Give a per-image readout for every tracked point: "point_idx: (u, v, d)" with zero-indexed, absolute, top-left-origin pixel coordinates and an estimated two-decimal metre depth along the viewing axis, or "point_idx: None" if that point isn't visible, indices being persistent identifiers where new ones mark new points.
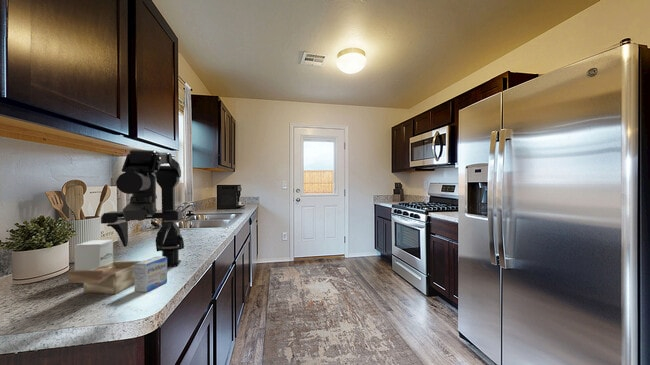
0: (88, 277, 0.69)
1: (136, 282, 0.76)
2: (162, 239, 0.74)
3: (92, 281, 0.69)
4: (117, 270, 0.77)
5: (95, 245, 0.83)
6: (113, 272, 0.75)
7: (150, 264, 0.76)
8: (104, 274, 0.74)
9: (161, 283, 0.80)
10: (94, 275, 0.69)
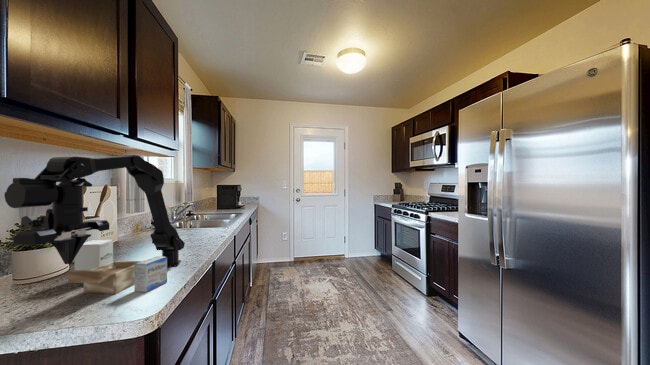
0: (88, 277, 0.69)
1: (136, 282, 0.76)
2: None
3: (92, 281, 0.69)
4: (117, 270, 0.77)
5: (95, 245, 0.83)
6: (113, 272, 0.75)
7: (150, 264, 0.76)
8: (104, 274, 0.74)
9: (161, 283, 0.80)
10: (94, 275, 0.69)
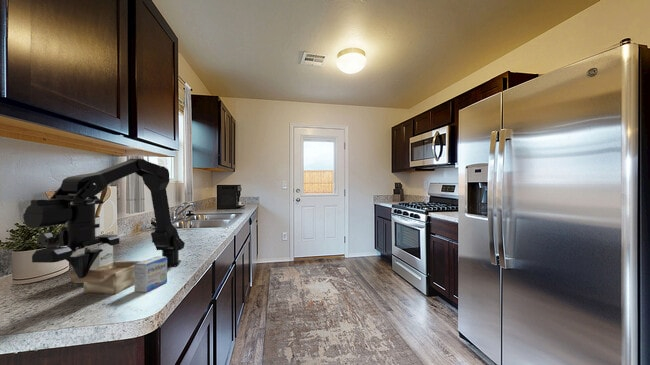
0: (90, 276, 0.70)
1: (136, 282, 0.76)
2: None
3: (94, 280, 0.70)
4: (119, 269, 0.78)
5: None
6: (115, 271, 0.76)
7: (150, 264, 0.76)
8: (106, 273, 0.74)
9: (161, 283, 0.80)
10: (96, 274, 0.70)
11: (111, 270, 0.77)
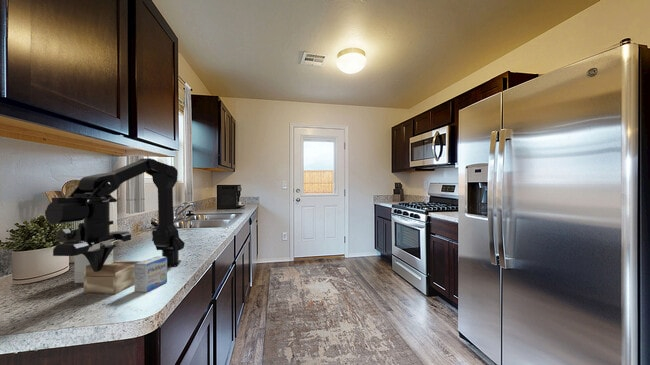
0: (104, 271, 0.74)
1: (136, 282, 0.76)
2: None
3: (108, 274, 0.74)
4: (130, 265, 0.82)
5: None
6: (126, 266, 0.80)
7: (150, 264, 0.76)
8: (118, 268, 0.79)
9: (161, 283, 0.80)
10: (110, 269, 0.74)
11: (123, 265, 0.81)
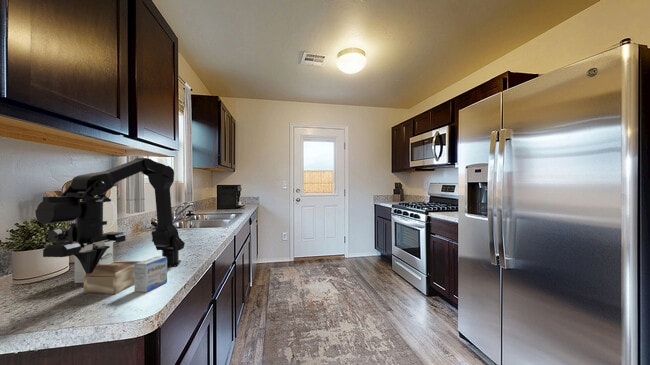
0: (104, 271, 0.74)
1: (136, 282, 0.76)
2: None
3: (108, 274, 0.74)
4: (130, 265, 0.82)
5: None
6: (126, 266, 0.80)
7: (150, 264, 0.76)
8: (118, 268, 0.79)
9: (161, 283, 0.80)
10: (110, 269, 0.74)
11: (123, 265, 0.81)
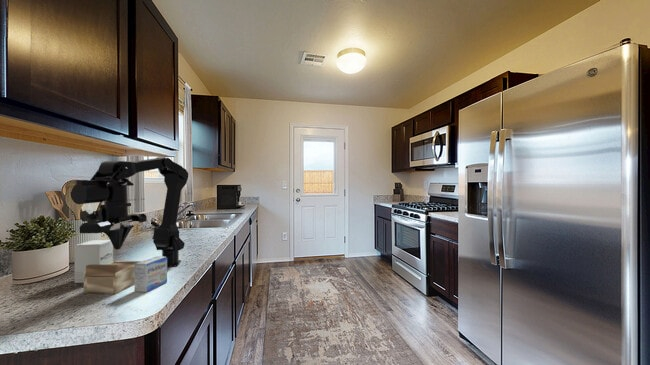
0: (104, 271, 0.74)
1: (136, 282, 0.76)
2: None
3: (108, 274, 0.74)
4: (130, 265, 0.82)
5: (95, 245, 0.83)
6: (126, 266, 0.80)
7: (150, 264, 0.76)
8: (118, 268, 0.79)
9: (161, 283, 0.80)
10: (110, 269, 0.74)
11: (123, 265, 0.81)
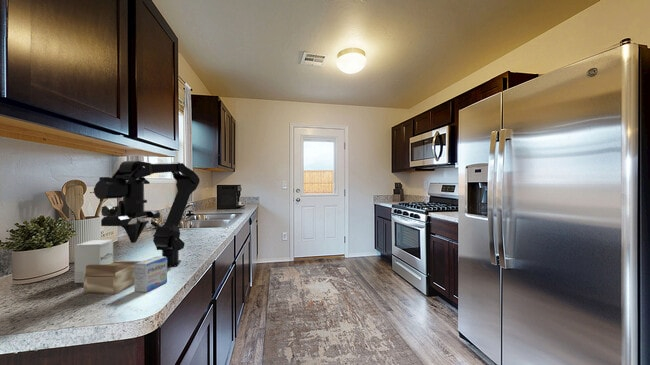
0: (104, 271, 0.74)
1: (136, 282, 0.76)
2: None
3: (108, 274, 0.74)
4: (130, 265, 0.82)
5: (95, 245, 0.83)
6: (126, 266, 0.80)
7: (150, 264, 0.76)
8: (118, 268, 0.79)
9: (161, 283, 0.80)
10: (110, 269, 0.74)
11: (123, 265, 0.81)
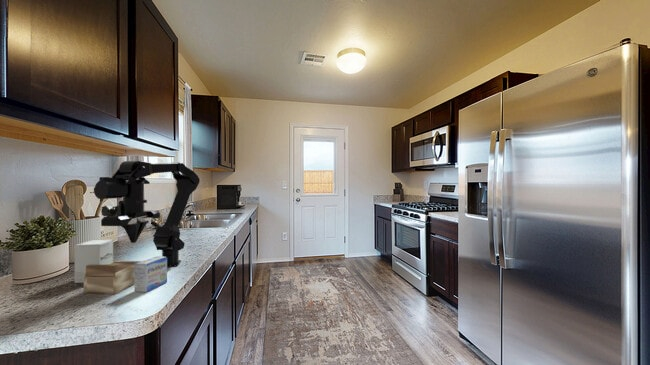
0: (104, 271, 0.74)
1: (136, 282, 0.76)
2: None
3: (108, 274, 0.74)
4: (130, 265, 0.82)
5: (95, 245, 0.83)
6: (126, 266, 0.80)
7: (150, 264, 0.76)
8: (118, 268, 0.79)
9: (161, 283, 0.80)
10: (110, 269, 0.74)
11: (123, 265, 0.81)
